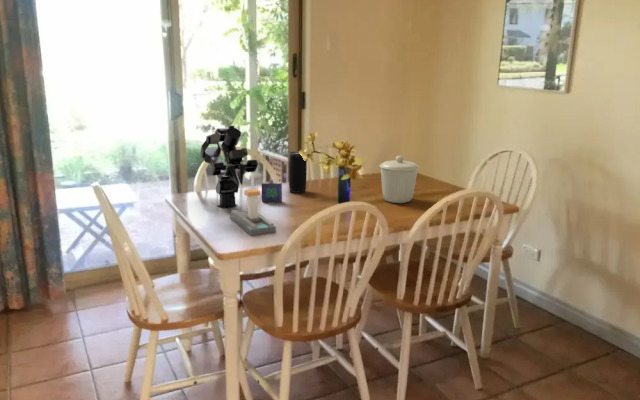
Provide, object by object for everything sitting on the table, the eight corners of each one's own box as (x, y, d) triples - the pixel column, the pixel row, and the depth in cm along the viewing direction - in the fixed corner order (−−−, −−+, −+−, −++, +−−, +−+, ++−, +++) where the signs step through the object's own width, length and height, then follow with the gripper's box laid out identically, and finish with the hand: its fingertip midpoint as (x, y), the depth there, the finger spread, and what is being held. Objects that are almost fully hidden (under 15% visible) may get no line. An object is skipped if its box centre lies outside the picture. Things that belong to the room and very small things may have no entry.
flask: (282, 201, 248) (281, 178, 245) (282, 202, 245) (282, 179, 242) (261, 201, 247) (261, 178, 244) (261, 203, 244) (261, 179, 241)
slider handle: (244, 219, 212) (243, 190, 209) (256, 217, 214) (255, 188, 211) (248, 222, 208) (248, 192, 205) (261, 221, 210) (260, 191, 207)
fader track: (229, 218, 220) (229, 210, 219) (252, 215, 225) (252, 207, 224) (250, 235, 200) (250, 226, 199) (275, 231, 204) (275, 223, 203)
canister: (416, 207, 241) (419, 160, 235) (376, 204, 244) (377, 158, 239) (417, 197, 258) (420, 153, 252) (379, 194, 261) (381, 151, 256)
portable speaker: (306, 189, 269) (306, 150, 264) (306, 194, 260) (306, 154, 255) (289, 189, 269) (289, 150, 264) (288, 194, 260) (288, 153, 255)
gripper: (212, 143, 216) (221, 175, 209) (256, 140, 224) (266, 171, 217) (207, 159, 224) (216, 190, 218) (249, 155, 233) (259, 186, 226)
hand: (240, 184), depth 220 cm, fingers closed
